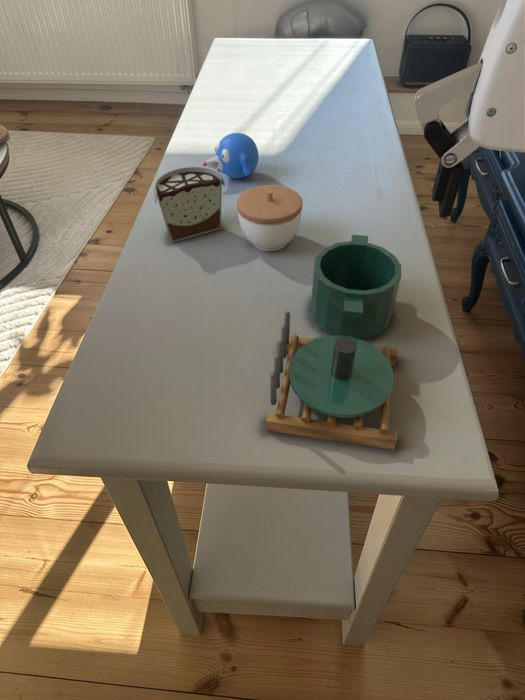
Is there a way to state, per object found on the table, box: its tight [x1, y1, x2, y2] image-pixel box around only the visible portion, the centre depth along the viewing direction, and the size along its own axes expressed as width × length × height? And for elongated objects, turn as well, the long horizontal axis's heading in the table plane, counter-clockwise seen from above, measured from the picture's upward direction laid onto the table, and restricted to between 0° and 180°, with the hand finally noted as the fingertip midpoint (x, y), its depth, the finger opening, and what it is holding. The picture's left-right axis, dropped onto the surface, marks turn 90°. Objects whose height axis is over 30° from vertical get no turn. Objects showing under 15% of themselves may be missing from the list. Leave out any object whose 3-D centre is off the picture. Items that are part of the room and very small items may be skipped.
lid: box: [289, 334, 395, 419], centre depth 57 cm, size 13×13×6 cm
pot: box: [310, 234, 402, 340], centre depth 68 cm, size 12×17×8 cm
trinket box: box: [236, 184, 303, 252], centre depth 81 cm, size 11×11×9 cm
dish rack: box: [265, 310, 398, 450], centre depth 58 cm, size 15×14×8 cm
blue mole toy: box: [201, 132, 259, 179], centre depth 97 cm, size 12×12×8 cm
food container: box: [153, 166, 226, 243], centre depth 84 cm, size 12×6×10 cm, turn 116°
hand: (507, 213), depth 37 cm, fingers open, 9 cm apart
